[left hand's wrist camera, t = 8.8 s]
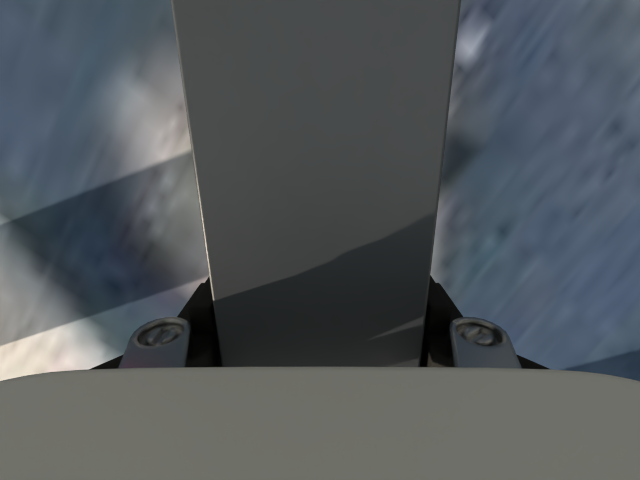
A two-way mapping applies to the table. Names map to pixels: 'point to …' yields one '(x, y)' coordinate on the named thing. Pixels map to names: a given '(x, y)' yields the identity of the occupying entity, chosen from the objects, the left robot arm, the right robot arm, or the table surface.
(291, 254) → the beam
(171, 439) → the left robot arm
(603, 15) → the table surface
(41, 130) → the table surface
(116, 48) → the table surface
